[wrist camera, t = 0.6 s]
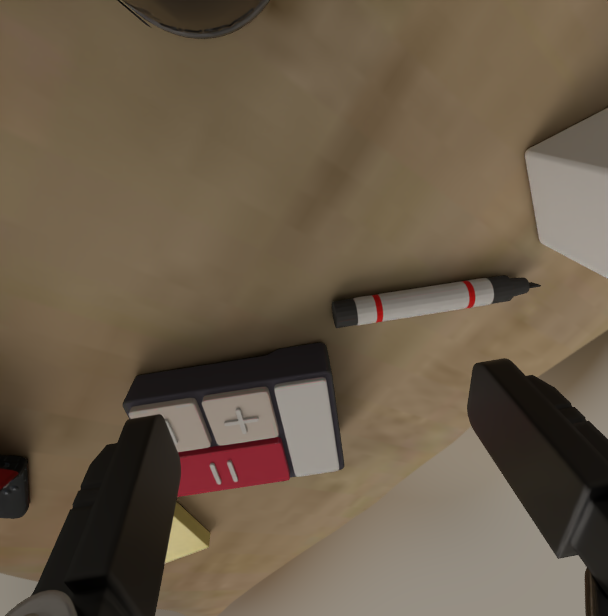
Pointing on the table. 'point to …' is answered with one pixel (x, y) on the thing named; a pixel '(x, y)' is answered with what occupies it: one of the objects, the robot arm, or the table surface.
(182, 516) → the sticky pad
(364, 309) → the marker
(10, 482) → the handheld console
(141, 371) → the table surface
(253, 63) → the table surface
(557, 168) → the medicine bottle
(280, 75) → the table surface
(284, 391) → the calculator
